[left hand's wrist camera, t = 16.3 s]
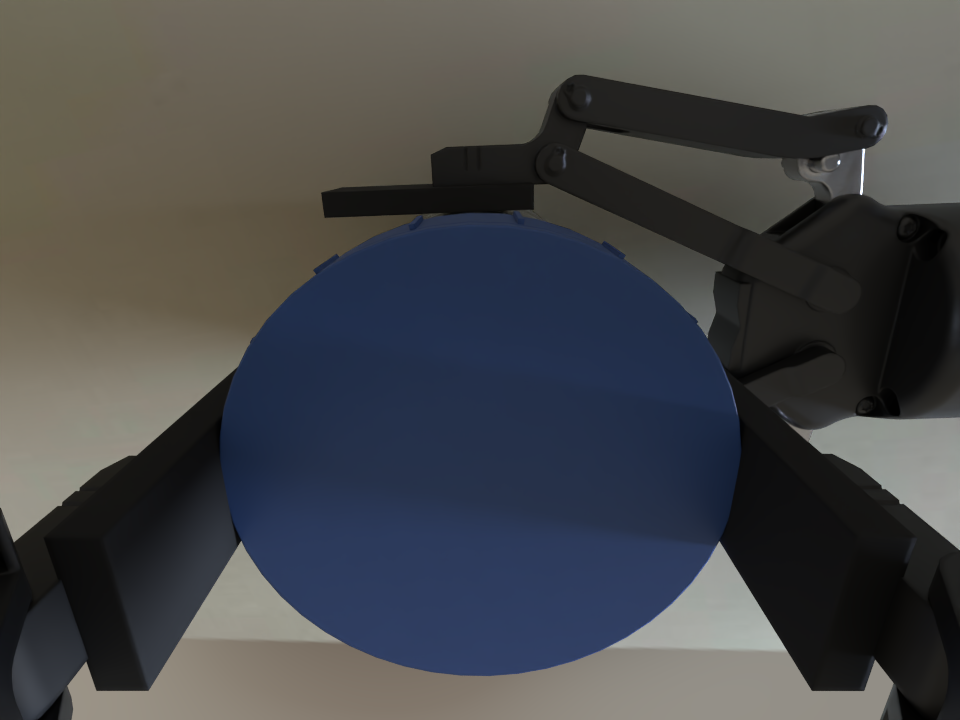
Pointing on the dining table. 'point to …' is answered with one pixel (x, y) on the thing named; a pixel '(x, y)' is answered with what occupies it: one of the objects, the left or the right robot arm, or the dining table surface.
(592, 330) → the lid
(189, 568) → the left robot arm
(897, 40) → the dining table surface
